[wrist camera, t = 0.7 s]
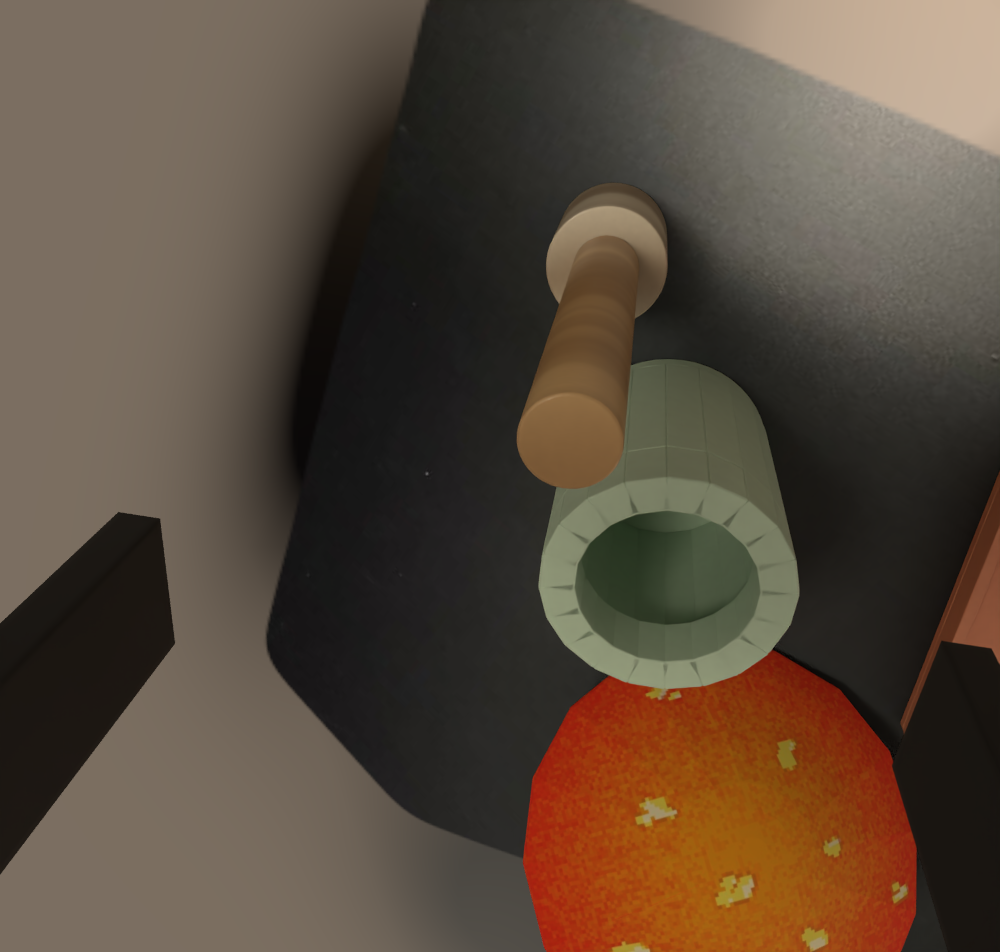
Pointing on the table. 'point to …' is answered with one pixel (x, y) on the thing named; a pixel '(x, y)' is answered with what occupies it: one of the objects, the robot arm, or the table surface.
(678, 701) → the decorative mushroom
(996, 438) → the table surface
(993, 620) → the tray
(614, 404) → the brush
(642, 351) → the table surface
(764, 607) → the jar
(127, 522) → the robot arm
